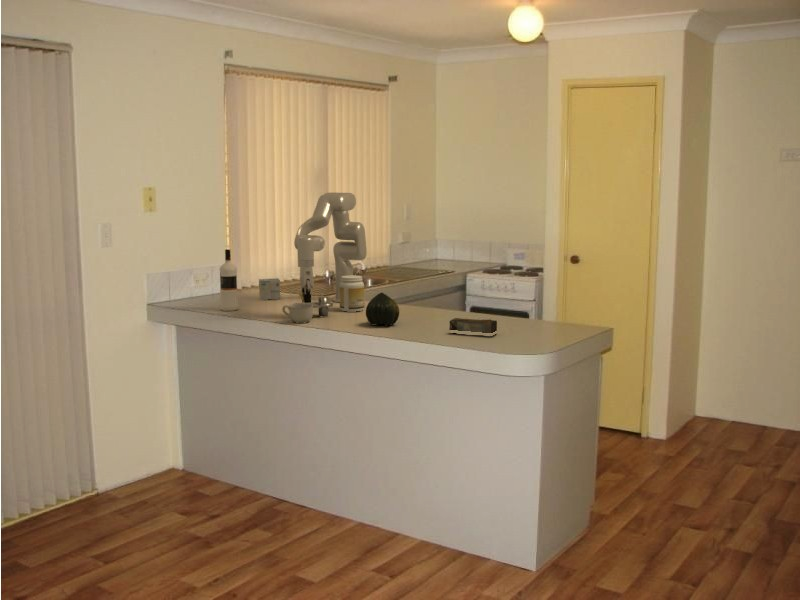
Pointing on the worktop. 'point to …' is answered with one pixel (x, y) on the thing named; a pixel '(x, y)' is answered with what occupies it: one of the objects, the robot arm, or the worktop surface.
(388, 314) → the squash
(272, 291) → the light bulb box
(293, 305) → the teacup
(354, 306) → the supplement tub
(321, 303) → the grey knob latch
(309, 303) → the wedge pin
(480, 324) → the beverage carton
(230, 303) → the vodka
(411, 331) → the worktop surface
